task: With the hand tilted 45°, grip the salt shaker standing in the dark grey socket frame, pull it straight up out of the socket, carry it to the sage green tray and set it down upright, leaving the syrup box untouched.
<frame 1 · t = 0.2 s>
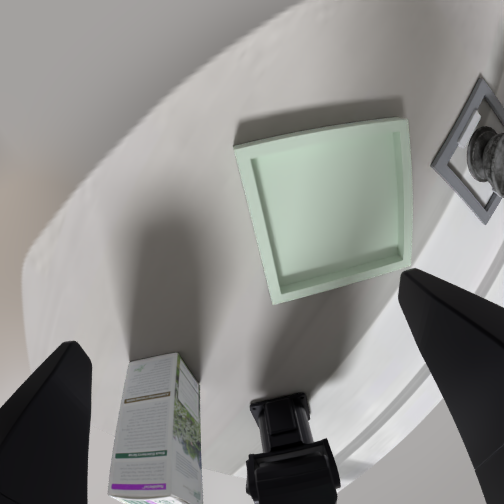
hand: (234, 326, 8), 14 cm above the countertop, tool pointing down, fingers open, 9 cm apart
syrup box: (165, 372, 29), on the countertop
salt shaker: (483, 153, 21), resting in socket
tray: (333, 208, 22), on the countertop
socket: (485, 154, 21), on the countertop
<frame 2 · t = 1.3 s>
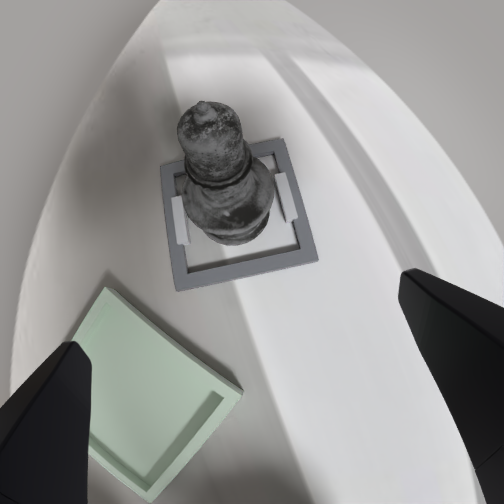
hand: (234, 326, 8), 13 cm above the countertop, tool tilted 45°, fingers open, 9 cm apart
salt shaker: (233, 211, 23), resting in socket
tray: (130, 400, 20), on the countertop
socket: (233, 210, 23), on the countertop
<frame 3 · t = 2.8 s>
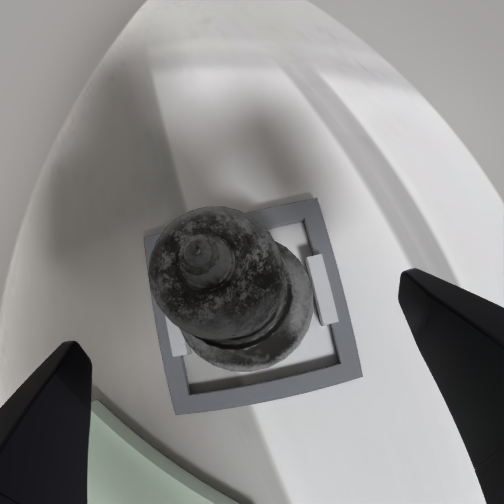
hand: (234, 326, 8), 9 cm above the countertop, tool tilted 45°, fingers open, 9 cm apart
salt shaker: (248, 308, 16), resting in socket
socket: (248, 307, 16), on the countertop
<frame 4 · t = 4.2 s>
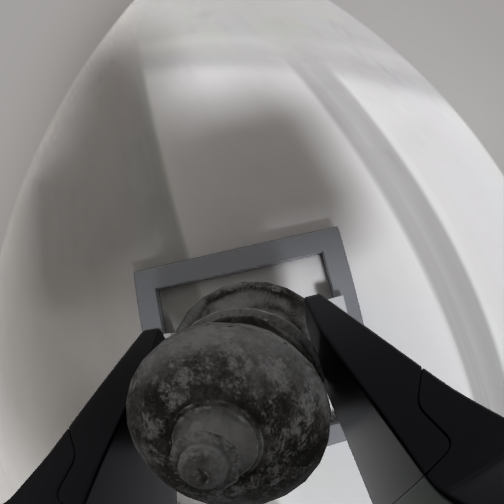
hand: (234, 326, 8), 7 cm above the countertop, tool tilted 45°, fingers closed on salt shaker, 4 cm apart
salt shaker: (257, 356, 14), resting in socket, touching gripper
socket: (257, 356, 14), on the countertop
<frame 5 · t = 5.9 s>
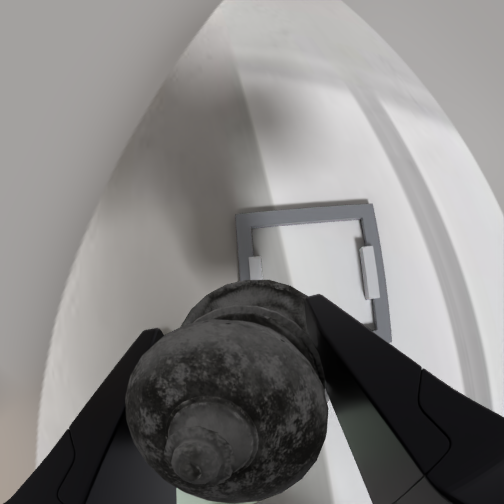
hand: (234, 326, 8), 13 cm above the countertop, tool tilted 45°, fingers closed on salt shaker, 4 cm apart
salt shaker: (260, 353, 14), point 7 cm above the countertop, touching gripper
tray: (182, 456, 19), on the countertop
socket: (314, 279, 21), on the countertop
when the fingers open (8 cm above the countertop, at t = 7.7 s): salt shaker drops 1 cm, resting on tray.
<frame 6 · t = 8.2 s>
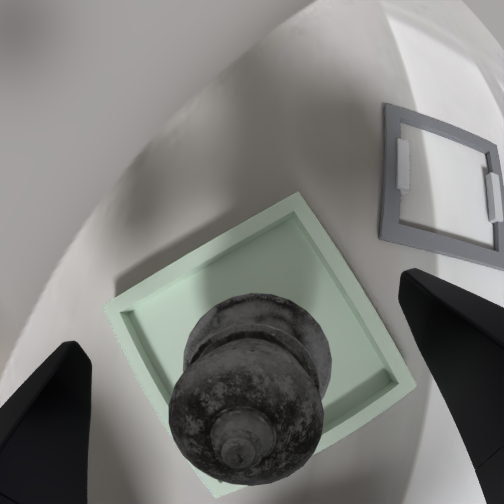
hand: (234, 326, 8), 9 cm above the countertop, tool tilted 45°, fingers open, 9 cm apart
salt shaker: (259, 356, 15), resting on tray
tray: (258, 353, 15), on the countertop
socket: (450, 184, 17), on the countertop
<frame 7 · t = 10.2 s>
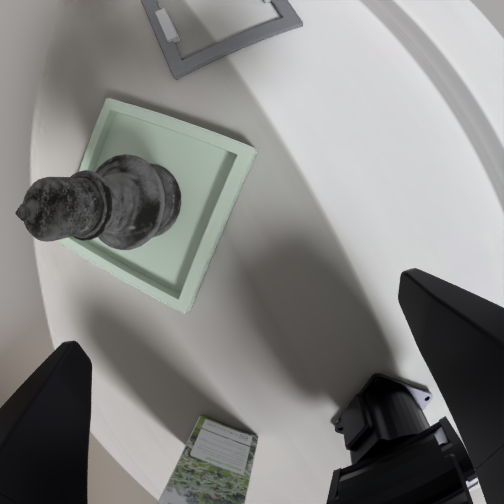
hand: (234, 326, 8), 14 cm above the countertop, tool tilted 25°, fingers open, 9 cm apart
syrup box: (221, 440, 25), on the countertop
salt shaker: (148, 200, 21), resting on tray
tray: (148, 199, 21), on the countertop
socket: (214, 5, 18), on the countertop
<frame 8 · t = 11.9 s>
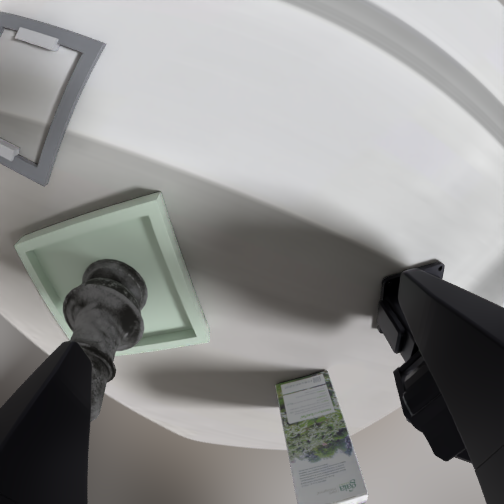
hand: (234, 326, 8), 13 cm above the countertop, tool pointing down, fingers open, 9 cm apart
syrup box: (303, 388, 31), on the countertop
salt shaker: (114, 287, 22), resting on tray
tray: (113, 285, 22), on the countertop
socket: (17, 92, 14), on the countertop
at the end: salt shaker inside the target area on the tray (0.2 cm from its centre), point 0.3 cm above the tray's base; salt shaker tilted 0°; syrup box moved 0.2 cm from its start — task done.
